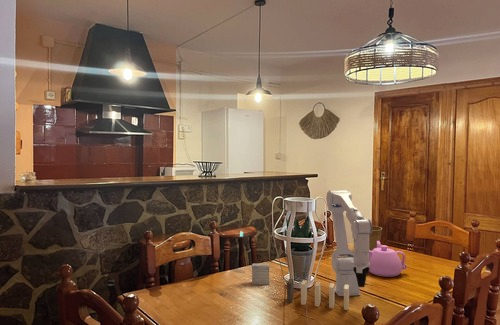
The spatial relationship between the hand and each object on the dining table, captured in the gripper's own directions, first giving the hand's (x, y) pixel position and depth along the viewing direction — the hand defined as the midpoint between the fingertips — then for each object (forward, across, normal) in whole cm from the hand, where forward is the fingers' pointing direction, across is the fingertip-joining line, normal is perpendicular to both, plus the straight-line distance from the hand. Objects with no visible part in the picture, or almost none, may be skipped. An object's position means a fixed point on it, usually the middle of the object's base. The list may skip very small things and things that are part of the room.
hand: (361, 286), depth 137 cm
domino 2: (+9, +2, -22) cm, 24 cm away
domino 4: (+9, +1, -11) cm, 14 cm away
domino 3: (+9, +1, -16) cm, 19 cm away
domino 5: (+9, 0, -6) cm, 10 cm away
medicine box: (+9, -12, -46) cm, 48 cm away
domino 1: (+9, +2, -28) cm, 29 cm away
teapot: (+9, -52, +5) cm, 52 cm away
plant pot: (+9, -84, -5) cm, 85 cm away
